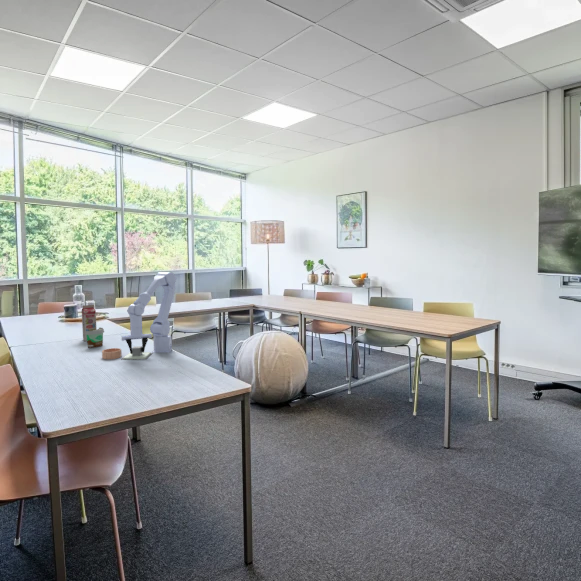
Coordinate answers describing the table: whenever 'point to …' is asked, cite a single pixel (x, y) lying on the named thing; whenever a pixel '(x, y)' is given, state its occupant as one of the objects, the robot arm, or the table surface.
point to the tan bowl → (111, 353)
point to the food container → (95, 338)
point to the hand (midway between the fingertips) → (137, 352)
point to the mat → (137, 359)
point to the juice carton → (88, 319)
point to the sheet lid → (137, 353)
